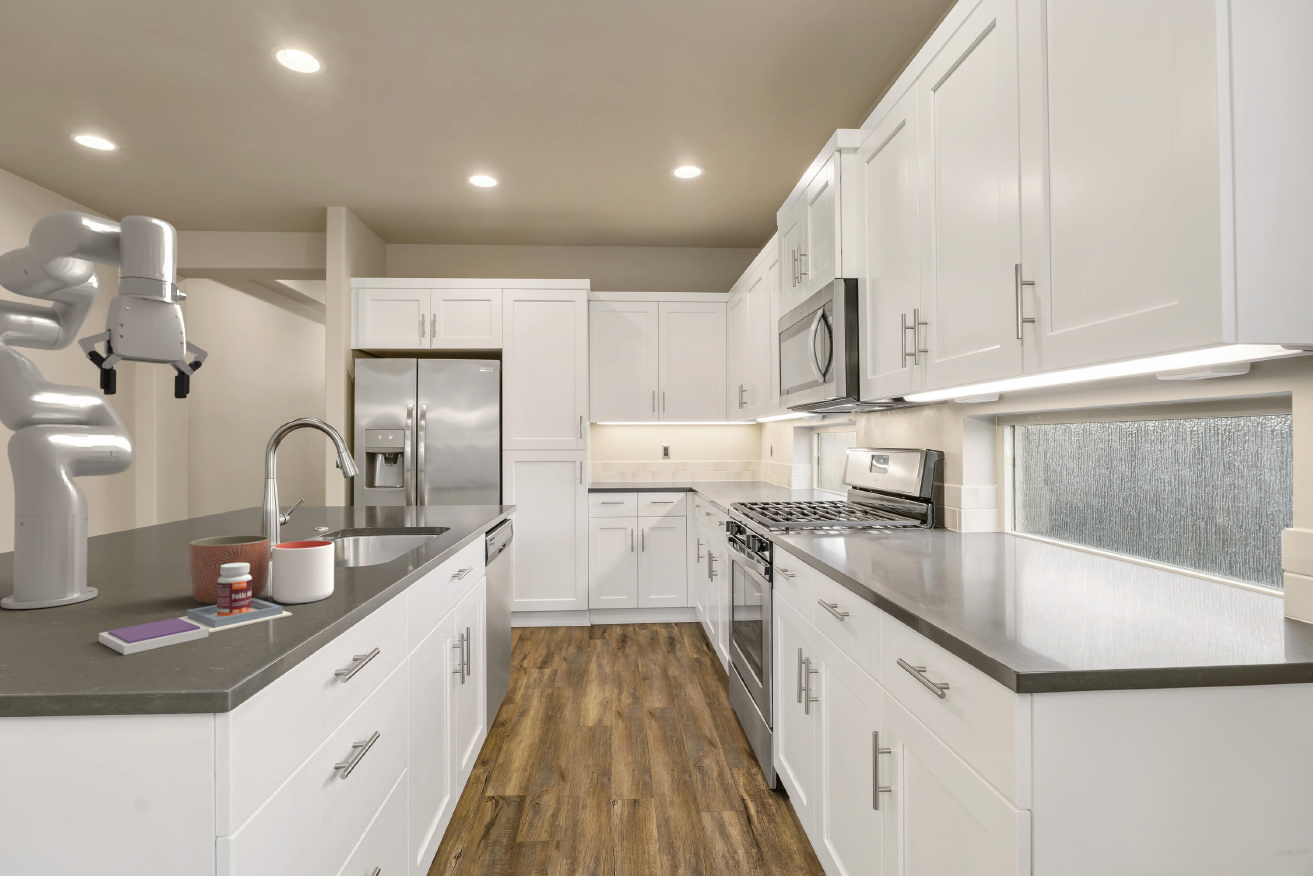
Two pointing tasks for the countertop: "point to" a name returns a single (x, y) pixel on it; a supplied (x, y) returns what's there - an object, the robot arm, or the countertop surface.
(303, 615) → the countertop surface
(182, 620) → the ink pad
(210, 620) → the square tray
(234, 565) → the pill bottle
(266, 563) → the planter
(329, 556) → the cup
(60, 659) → the countertop surface
